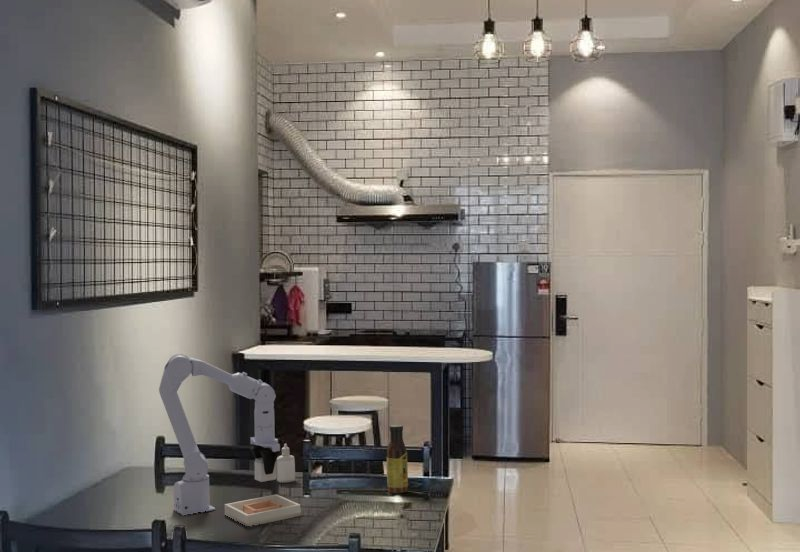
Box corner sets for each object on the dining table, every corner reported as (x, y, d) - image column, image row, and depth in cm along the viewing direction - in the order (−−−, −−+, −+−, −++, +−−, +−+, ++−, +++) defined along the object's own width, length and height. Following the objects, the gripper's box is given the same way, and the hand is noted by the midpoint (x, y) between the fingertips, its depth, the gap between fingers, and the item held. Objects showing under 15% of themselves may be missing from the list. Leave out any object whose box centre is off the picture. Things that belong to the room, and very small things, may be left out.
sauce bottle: (407, 494, 248) (406, 427, 248) (386, 494, 249) (385, 427, 248) (408, 488, 255) (406, 423, 255) (387, 488, 255) (386, 423, 255)
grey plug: (261, 481, 239) (260, 461, 239) (254, 479, 242) (254, 458, 242) (276, 479, 242) (276, 458, 242) (270, 476, 245) (269, 456, 245)
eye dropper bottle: (291, 483, 264) (290, 445, 264) (275, 482, 265) (274, 444, 265) (297, 480, 268) (296, 442, 268) (280, 479, 270) (280, 442, 269)
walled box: (247, 527, 219) (246, 515, 219) (224, 515, 231) (224, 504, 231) (300, 515, 229) (300, 504, 229) (276, 504, 240) (276, 494, 240)
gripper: (289, 427, 238) (289, 474, 238) (265, 420, 250) (266, 465, 250) (266, 430, 234) (267, 478, 234) (243, 423, 246) (244, 469, 246)
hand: (265, 472), depth 242 cm, fingers closed on grey plug, 4 cm apart
